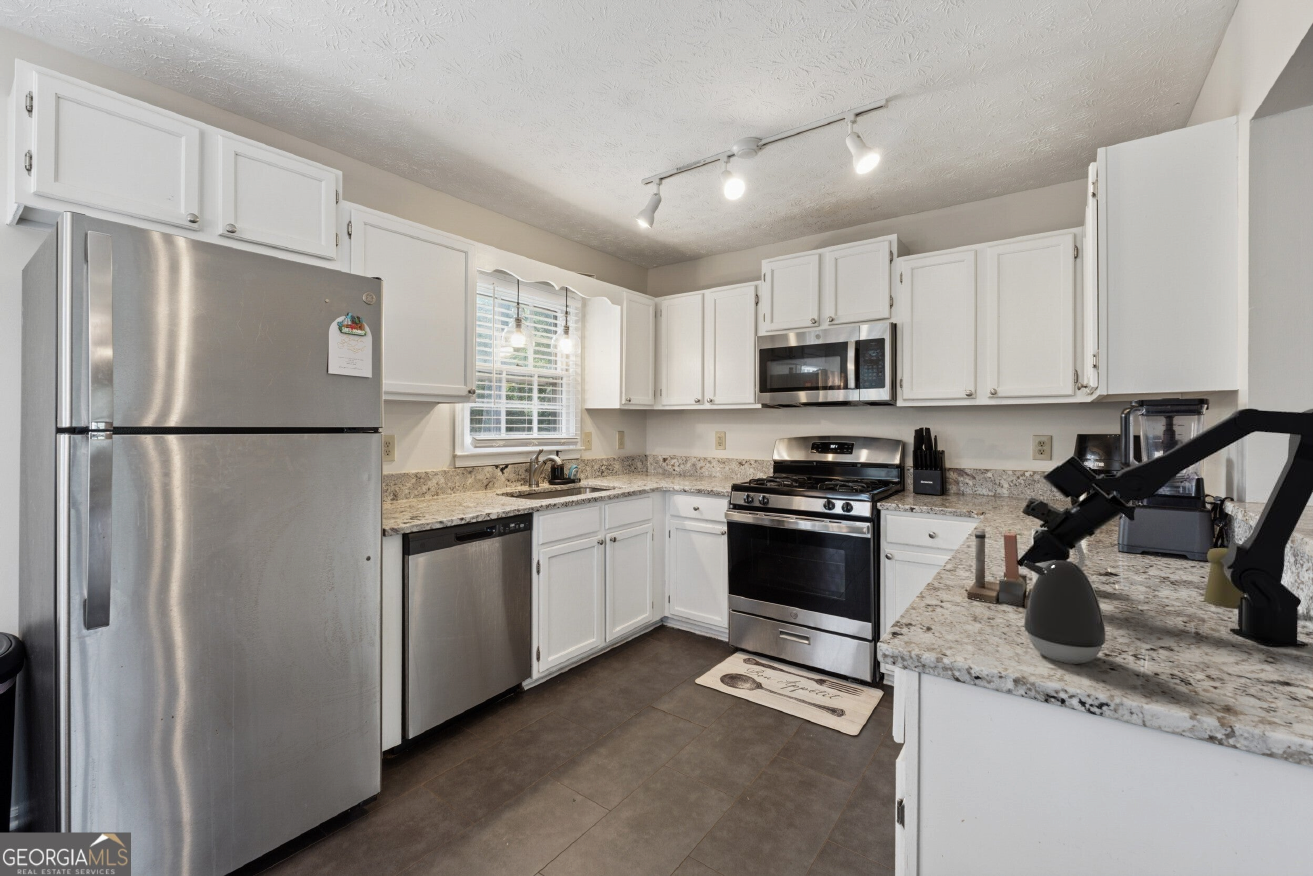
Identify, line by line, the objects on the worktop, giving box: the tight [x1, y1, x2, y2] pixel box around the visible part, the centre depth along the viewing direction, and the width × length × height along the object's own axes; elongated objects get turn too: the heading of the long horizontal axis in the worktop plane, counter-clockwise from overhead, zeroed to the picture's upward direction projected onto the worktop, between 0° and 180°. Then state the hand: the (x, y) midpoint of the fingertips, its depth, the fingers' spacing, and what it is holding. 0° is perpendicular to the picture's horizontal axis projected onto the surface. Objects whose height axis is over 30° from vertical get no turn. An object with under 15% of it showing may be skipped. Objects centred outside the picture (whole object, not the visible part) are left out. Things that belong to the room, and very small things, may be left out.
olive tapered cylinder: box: [1203, 547, 1246, 610], centre depth 110 cm, size 6×6×11 cm
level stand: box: [967, 529, 1033, 609], centre depth 115 cm, size 15×11×14 cm
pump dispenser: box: [1022, 560, 1106, 665], centre depth 86 cm, size 10×10×15 cm
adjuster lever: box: [1003, 532, 1026, 593], centre depth 115 cm, size 4×4×13 cm
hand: (1018, 564), depth 114 cm, fingers closed, pressing on adjuster lever
